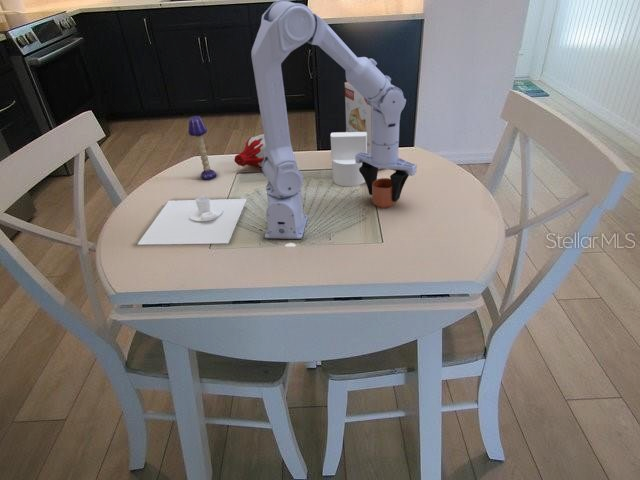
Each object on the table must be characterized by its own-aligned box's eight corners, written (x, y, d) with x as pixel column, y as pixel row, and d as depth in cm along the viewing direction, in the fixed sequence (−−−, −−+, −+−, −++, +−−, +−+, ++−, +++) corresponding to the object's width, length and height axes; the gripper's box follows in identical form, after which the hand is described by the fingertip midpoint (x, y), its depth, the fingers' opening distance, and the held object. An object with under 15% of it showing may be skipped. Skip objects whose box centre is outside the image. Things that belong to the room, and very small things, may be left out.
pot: (396, 208, 105) (397, 188, 102) (371, 208, 106) (371, 188, 103) (396, 197, 109) (396, 178, 107) (372, 197, 110) (372, 178, 107)
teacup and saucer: (217, 224, 103) (214, 208, 101) (183, 225, 104) (179, 209, 102) (226, 205, 111) (223, 190, 109) (194, 206, 111) (191, 191, 109)
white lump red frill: (297, 163, 129) (250, 184, 123) (277, 151, 137) (233, 170, 131) (290, 133, 123) (241, 154, 118) (271, 123, 131) (224, 142, 126)
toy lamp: (214, 180, 124) (202, 119, 114) (197, 181, 124) (183, 121, 115) (217, 173, 128) (206, 113, 118) (201, 174, 128) (188, 114, 119)
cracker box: (345, 155, 132) (343, 81, 121) (363, 151, 134) (363, 77, 123) (370, 173, 122) (370, 93, 110) (389, 168, 124) (391, 89, 112)
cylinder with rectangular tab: (367, 171, 123) (367, 127, 116) (366, 186, 115) (366, 140, 109) (333, 171, 124) (331, 128, 117) (331, 186, 116) (328, 141, 110)
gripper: (424, 140, 98) (420, 197, 105) (366, 129, 106) (367, 183, 113) (408, 151, 93) (406, 209, 101) (349, 139, 101) (351, 194, 108)
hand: (384, 196), depth 107 cm, fingers closed on pot, 6 cm apart
